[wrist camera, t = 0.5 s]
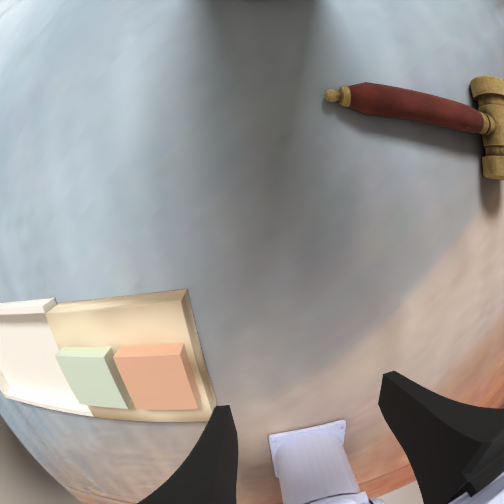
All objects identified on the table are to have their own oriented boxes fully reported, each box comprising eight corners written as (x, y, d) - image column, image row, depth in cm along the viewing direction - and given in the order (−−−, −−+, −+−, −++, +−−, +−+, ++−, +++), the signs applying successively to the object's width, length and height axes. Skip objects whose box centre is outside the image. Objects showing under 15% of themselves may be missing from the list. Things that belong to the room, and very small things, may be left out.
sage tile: (133, 397, 19) (128, 408, 17) (86, 394, 19) (79, 404, 17) (111, 346, 18) (103, 357, 16) (63, 346, 17) (54, 355, 16)
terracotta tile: (200, 396, 19) (198, 408, 17) (141, 397, 19) (136, 409, 17) (183, 342, 18) (180, 354, 16) (120, 346, 18) (112, 357, 16)
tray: (100, 404, 22) (93, 416, 20) (12, 389, 21) (4, 396, 19) (54, 297, 19) (42, 306, 17) (-26, 304, 19) (-36, 310, 17)
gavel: (340, 159, 15) (322, 24, 13) (322, 165, 20) (310, 52, 18) (528, 182, 15) (513, 84, 13) (499, 180, 19) (487, 92, 17)
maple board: (216, 401, 22) (215, 420, 19) (102, 401, 22) (93, 416, 19) (187, 288, 19) (180, 301, 17) (60, 302, 19) (44, 313, 17)
